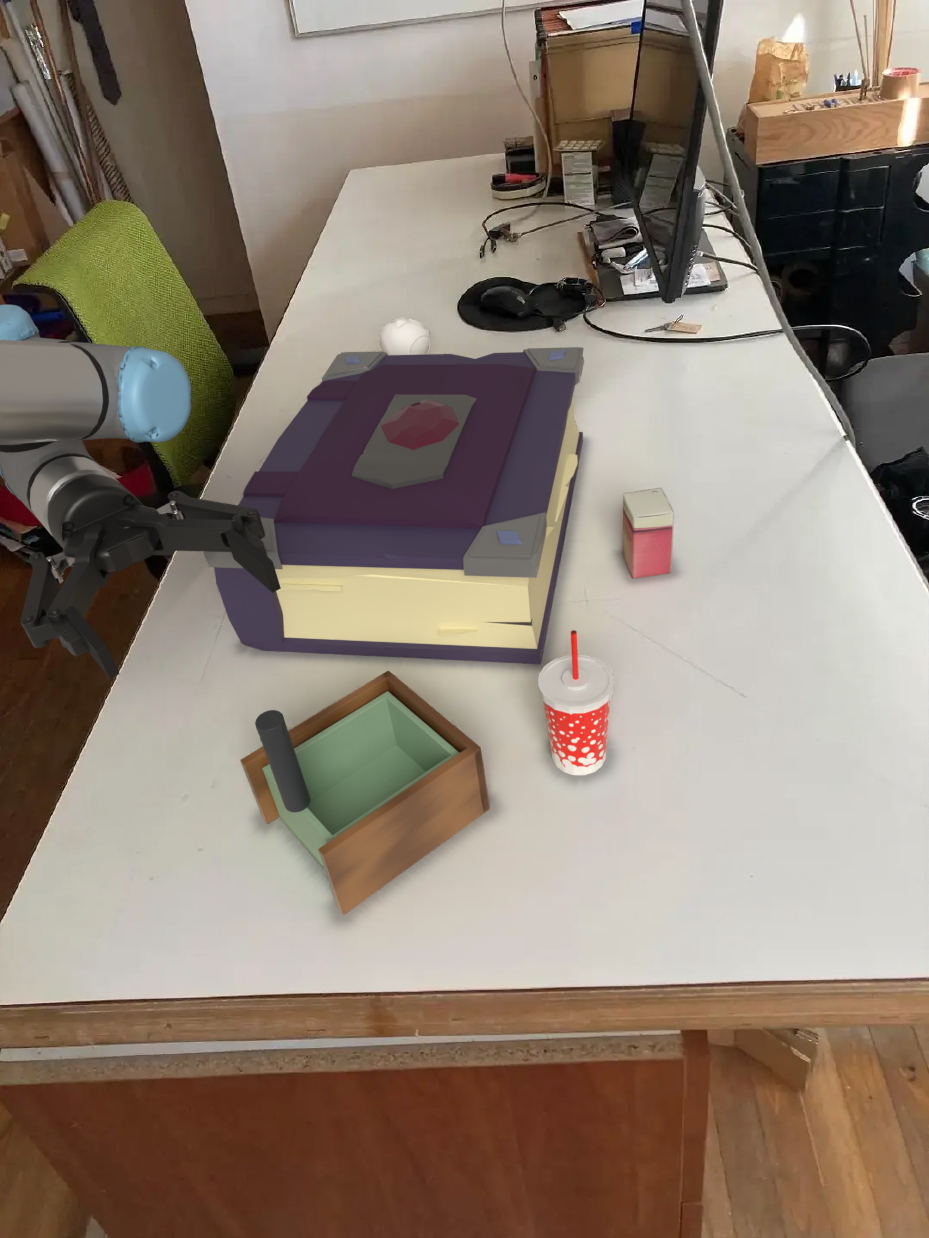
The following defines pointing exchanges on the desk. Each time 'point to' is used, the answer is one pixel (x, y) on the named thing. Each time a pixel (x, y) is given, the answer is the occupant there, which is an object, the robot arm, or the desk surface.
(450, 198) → the desk surface
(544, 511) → the book
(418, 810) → the wooden drawer casing
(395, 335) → the white lumpy ball
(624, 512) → the small box
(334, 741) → the green open box
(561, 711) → the beverage cup
